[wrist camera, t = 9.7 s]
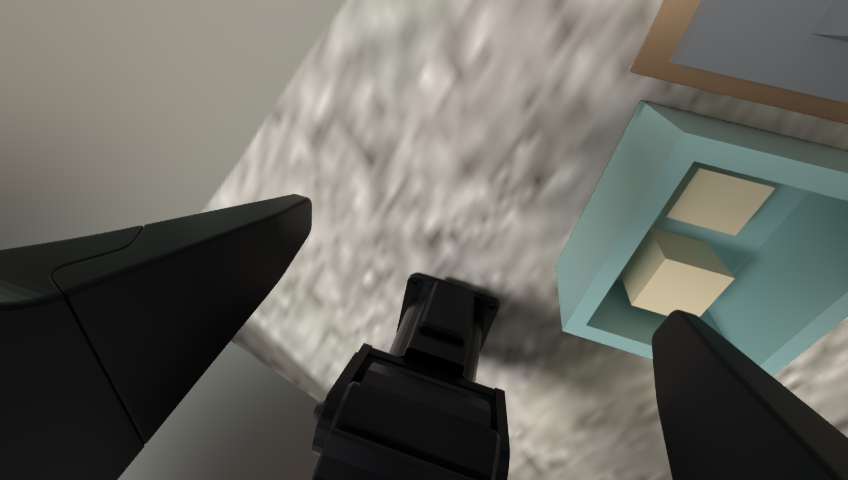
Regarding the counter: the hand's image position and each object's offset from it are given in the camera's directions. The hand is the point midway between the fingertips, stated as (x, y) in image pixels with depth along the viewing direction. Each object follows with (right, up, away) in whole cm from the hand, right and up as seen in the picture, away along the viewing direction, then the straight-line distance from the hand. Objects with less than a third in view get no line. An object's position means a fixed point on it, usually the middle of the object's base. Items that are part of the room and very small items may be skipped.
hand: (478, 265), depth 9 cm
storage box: (+12, +2, +10) cm, 16 cm away
